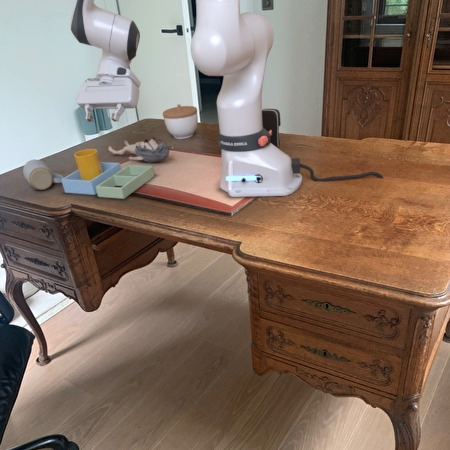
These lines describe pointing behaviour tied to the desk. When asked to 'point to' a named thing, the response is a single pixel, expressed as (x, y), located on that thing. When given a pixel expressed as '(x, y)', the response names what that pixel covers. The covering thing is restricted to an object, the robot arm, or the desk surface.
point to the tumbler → (88, 164)
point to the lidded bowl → (181, 121)
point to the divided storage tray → (125, 181)
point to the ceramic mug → (40, 175)
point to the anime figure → (145, 151)
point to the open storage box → (79, 186)
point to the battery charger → (272, 124)
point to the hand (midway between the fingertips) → (101, 120)
